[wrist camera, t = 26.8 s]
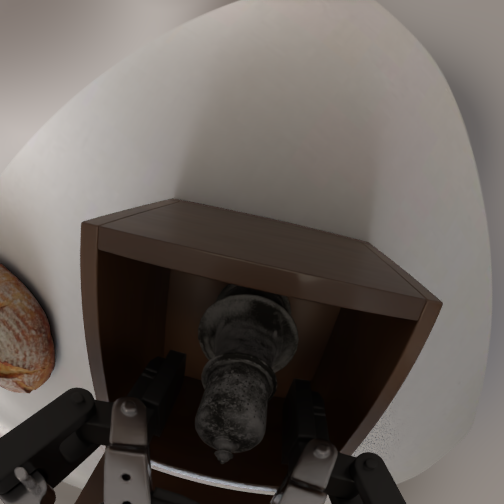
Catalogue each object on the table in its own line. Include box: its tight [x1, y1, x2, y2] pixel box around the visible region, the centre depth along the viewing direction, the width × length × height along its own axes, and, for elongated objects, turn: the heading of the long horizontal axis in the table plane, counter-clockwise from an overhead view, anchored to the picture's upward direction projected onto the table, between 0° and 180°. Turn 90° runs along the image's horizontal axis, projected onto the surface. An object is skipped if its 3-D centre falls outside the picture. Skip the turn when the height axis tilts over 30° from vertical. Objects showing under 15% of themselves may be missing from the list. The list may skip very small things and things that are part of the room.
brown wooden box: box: [80, 198, 443, 492], centre depth 15 cm, size 15×14×10 cm
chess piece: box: [195, 283, 299, 464], centre depth 13 cm, size 6×6×12 cm
